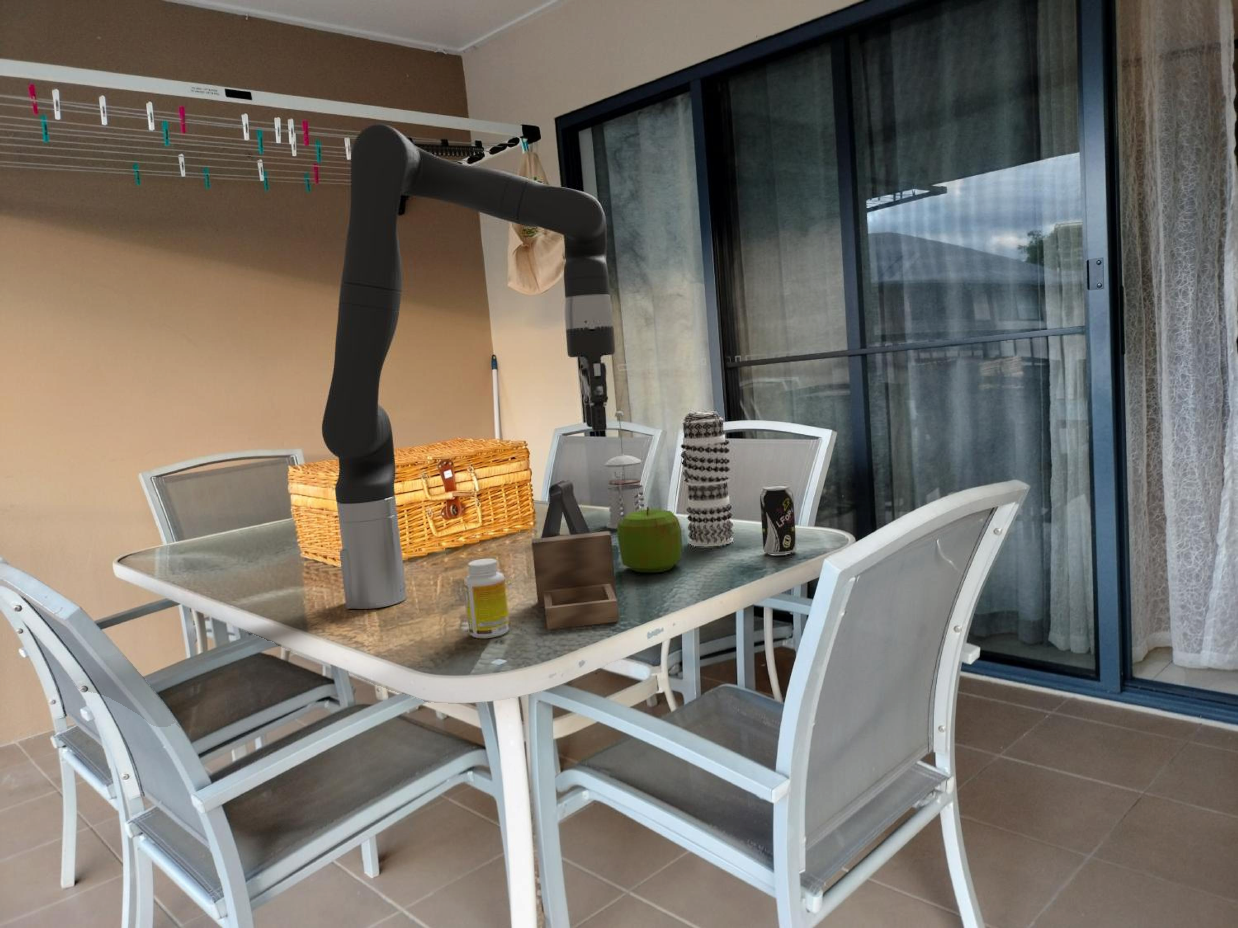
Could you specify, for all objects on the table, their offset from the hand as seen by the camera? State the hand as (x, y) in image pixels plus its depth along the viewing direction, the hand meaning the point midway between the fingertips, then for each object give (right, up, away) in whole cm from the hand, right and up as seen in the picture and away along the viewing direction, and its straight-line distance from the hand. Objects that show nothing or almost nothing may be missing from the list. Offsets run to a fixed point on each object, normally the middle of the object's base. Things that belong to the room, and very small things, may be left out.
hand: (596, 428), depth 143 cm
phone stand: (-7, -22, +44) cm, 50 cm away
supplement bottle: (-14, -29, -18) cm, 37 cm away
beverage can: (+32, -22, +15) cm, 41 cm away
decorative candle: (+21, -21, +29) cm, 42 cm away
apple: (+9, -24, +12) cm, 28 cm away
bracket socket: (-2, -27, -10) cm, 29 cm away
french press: (+5, -19, +54) cm, 58 cm away
